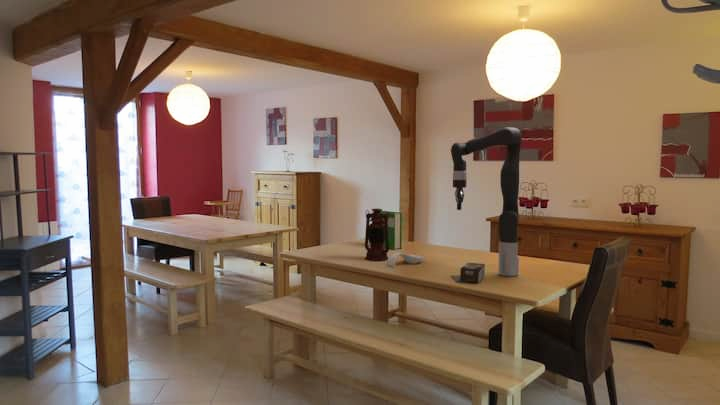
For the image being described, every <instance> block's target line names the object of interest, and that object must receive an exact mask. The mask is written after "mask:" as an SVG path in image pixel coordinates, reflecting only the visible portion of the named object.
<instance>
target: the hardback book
mask: <svg viewBox="0 0 720 405" xmlns="http://www.w3.org/2000/svg"><path fill="white" fill-rule="evenodd" d="M380 212H381V213H382V214H383V215H385V214H386V213H387V212H389V219H388V236H389V251H390V250H391V251H396V249H398V250H401V249H402V248H403V247H402V243H403V241H402V238H403V237H402V234H403V232H402V230H403V229H402V228H403V212H398V211H388V210H382V211H380ZM387 214H388V213H387ZM387 214H386V215H387ZM382 219H383V218H382ZM383 220H384V219H383ZM383 248H384V249H386V242H385V243H383Z"/></svg>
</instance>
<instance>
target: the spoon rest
mask: <svg viewBox="0 0 720 405" xmlns="http://www.w3.org/2000/svg"><path fill="white" fill-rule="evenodd" d="M400 256H401V257H402V258H403V260H404V261H405V262H406V263H407V264H409V265H410V264H412V265H413V264H415V265H416V264H419V263H420V262H422V261H423V259H424V258H425V257H424V256H422V255H416V254H407V253H404V252H403V253H402V252H395V253H394V254H393V255H392V256H391V257H390V258H389V259H388V267H392V268H395V267H396V265H395V264H396V260H397V258H398V257H400Z"/></svg>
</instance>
